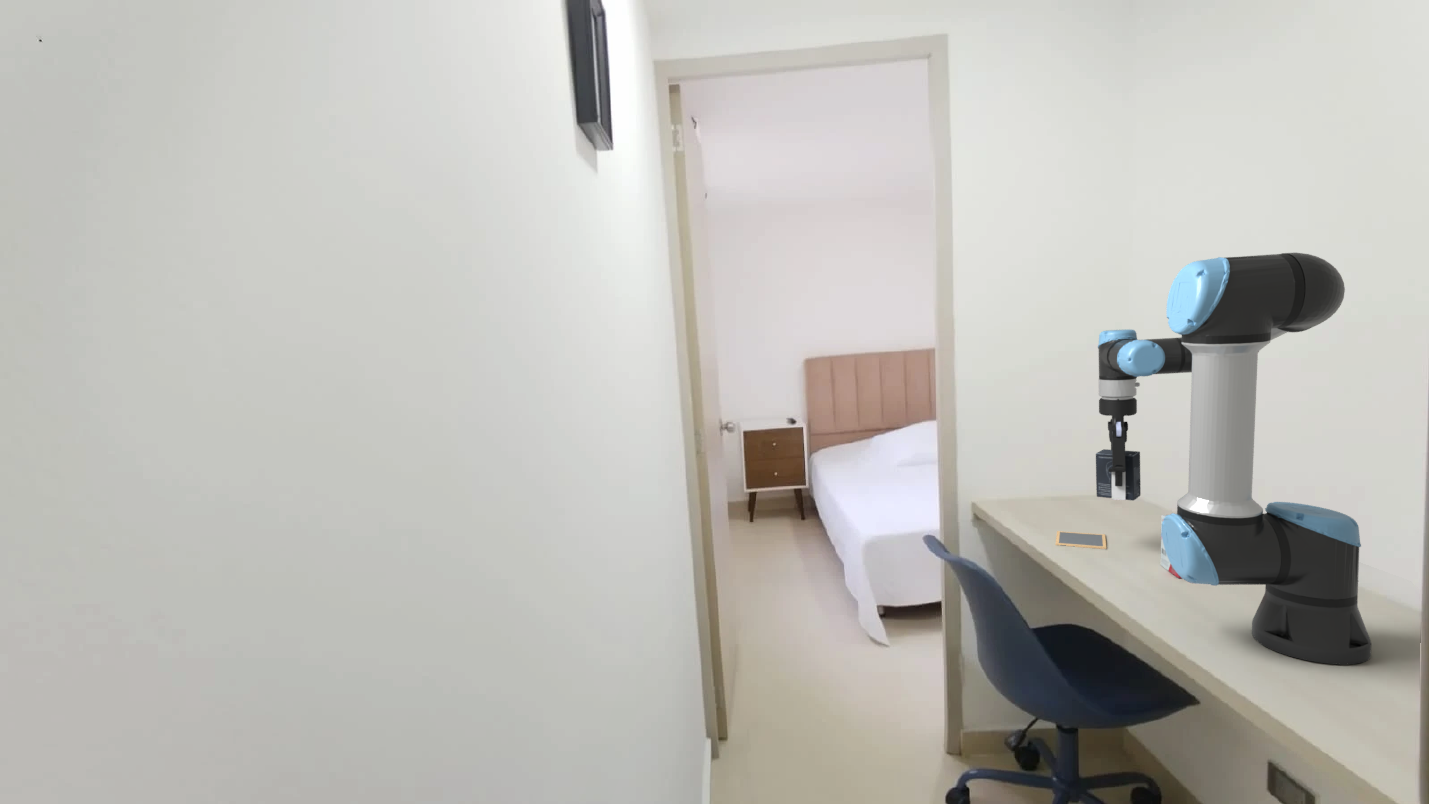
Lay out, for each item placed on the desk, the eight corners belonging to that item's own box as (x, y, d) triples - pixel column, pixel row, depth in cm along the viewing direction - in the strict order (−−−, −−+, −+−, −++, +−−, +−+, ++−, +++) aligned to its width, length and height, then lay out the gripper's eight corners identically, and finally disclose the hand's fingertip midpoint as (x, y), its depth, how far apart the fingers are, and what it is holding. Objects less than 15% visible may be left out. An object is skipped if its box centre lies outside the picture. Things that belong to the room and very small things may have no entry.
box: (1140, 495, 161) (1140, 451, 160) (1133, 501, 157) (1133, 455, 156) (1103, 491, 167) (1103, 448, 165) (1095, 497, 163) (1095, 452, 161)
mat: (1106, 549, 168) (1106, 547, 168) (1055, 545, 173) (1055, 543, 173) (1105, 535, 177) (1105, 534, 177) (1057, 532, 183) (1057, 531, 183)
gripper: (1139, 402, 149) (1139, 507, 151) (1134, 392, 166) (1134, 486, 169) (1099, 402, 152) (1100, 505, 155) (1098, 392, 170) (1099, 484, 172)
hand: (1117, 495), depth 162 cm, fingers closed on box, 7 cm apart
